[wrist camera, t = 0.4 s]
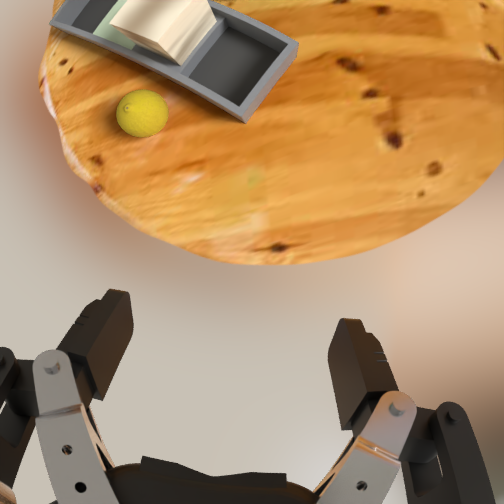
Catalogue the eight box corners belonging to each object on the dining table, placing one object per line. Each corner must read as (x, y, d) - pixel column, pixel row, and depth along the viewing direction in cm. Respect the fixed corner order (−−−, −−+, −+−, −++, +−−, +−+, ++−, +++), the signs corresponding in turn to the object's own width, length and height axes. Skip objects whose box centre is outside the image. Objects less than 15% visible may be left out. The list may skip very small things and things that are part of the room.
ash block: (216, 21, 27) (202, -11, 20) (181, 66, 29) (157, 42, 21) (171, 3, 26) (150, -26, 19) (138, 45, 28) (109, 23, 21)
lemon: (130, 132, 34) (96, 125, 26) (147, 92, 32) (117, 77, 25) (166, 146, 34) (137, 141, 26) (184, 105, 33) (161, 89, 25)
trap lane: (296, 57, 30) (298, 42, 26) (245, 123, 33) (241, 117, 28) (104, -20, 27) (91, -31, 23) (65, 32, 30) (48, 24, 26)
